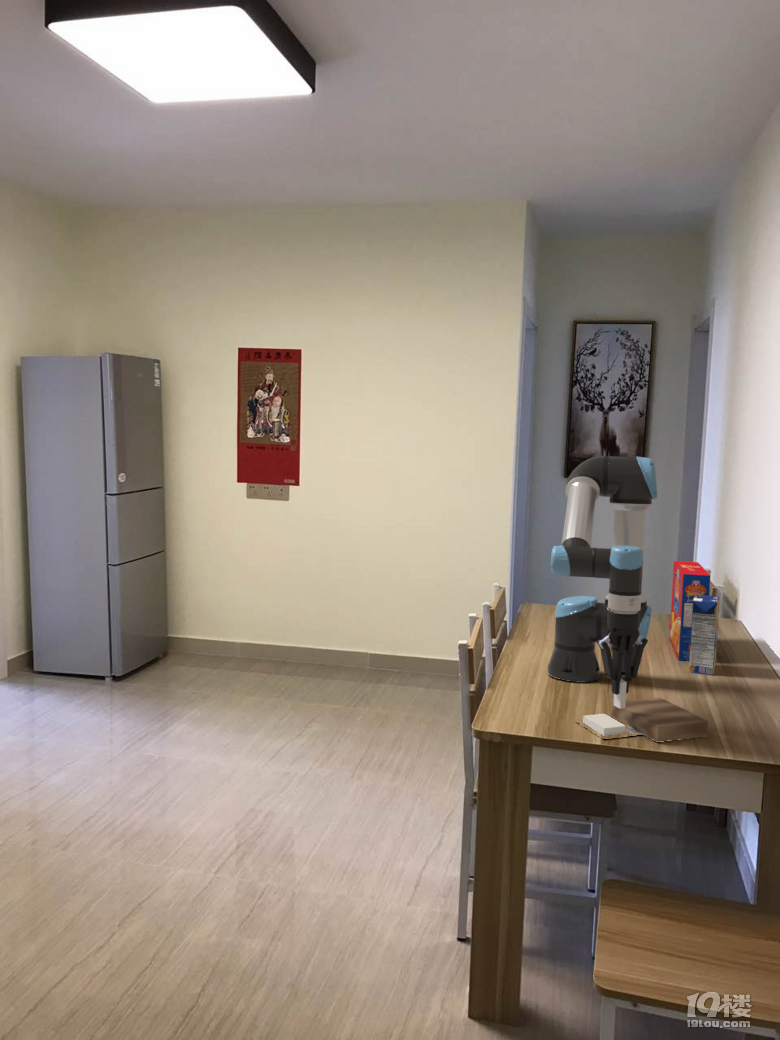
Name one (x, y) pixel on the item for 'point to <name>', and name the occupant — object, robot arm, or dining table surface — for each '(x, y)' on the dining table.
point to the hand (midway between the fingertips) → (619, 706)
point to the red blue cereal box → (685, 603)
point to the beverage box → (704, 634)
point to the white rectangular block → (604, 724)
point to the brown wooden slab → (661, 719)
